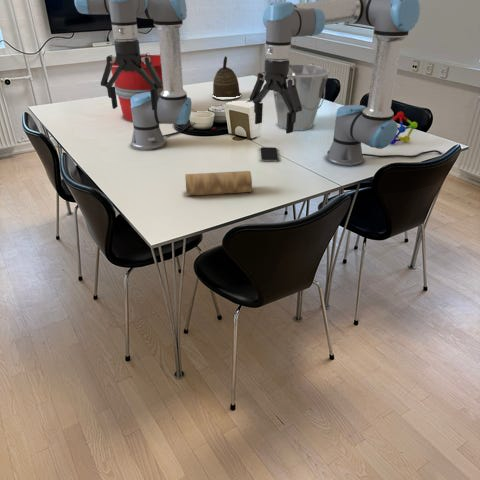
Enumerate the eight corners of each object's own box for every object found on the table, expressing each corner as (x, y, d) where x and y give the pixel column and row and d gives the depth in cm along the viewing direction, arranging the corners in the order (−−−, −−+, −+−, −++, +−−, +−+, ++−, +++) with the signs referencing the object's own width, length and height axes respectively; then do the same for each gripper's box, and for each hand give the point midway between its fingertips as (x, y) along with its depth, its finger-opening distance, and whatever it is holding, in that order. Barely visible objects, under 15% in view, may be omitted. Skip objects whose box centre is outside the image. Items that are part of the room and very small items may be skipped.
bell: (227, 105, 294) (202, 96, 282) (238, 66, 289) (213, 55, 277) (243, 108, 280) (217, 98, 268) (255, 66, 275) (229, 55, 263)
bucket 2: (296, 138, 215) (301, 78, 201) (255, 124, 234) (256, 68, 219) (335, 125, 232) (342, 70, 217) (294, 113, 251) (297, 61, 236)
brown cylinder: (187, 199, 159) (185, 179, 155) (186, 190, 166) (184, 170, 162) (251, 195, 162) (252, 175, 158) (248, 186, 169) (248, 167, 165)
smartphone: (261, 159, 190) (260, 147, 203) (261, 161, 190) (260, 148, 203) (278, 159, 190) (276, 147, 202) (278, 161, 190) (276, 148, 203)
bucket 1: (122, 106, 262) (115, 52, 246) (181, 107, 261) (178, 52, 245) (105, 124, 232) (96, 64, 216) (172, 125, 231) (167, 64, 216)
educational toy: (377, 146, 209) (379, 114, 202) (384, 138, 219) (386, 107, 211) (411, 149, 202) (415, 116, 195) (417, 141, 212) (420, 109, 204)
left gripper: (82, 40, 135) (94, 110, 147) (162, 42, 133) (168, 113, 144) (92, 36, 141) (103, 103, 153) (168, 38, 139) (173, 106, 150)
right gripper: (239, 55, 140) (238, 121, 151) (301, 66, 125) (295, 139, 136) (256, 52, 144) (254, 117, 156) (317, 63, 130) (310, 134, 141)
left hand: (134, 108), depth 148 cm, fingers open, 13 cm apart
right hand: (273, 127), depth 146 cm, fingers open, 13 cm apart
